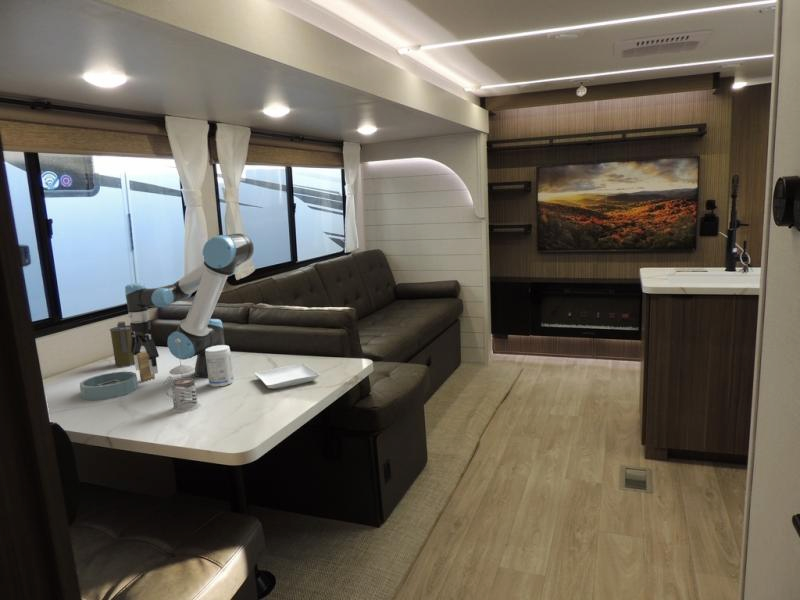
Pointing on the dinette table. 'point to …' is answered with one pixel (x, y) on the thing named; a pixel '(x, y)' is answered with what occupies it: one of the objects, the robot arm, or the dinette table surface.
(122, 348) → the canister
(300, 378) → the salad plate
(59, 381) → the dinette table surface
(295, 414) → the dinette table surface
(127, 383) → the shallow blue tray
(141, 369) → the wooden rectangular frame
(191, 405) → the french press
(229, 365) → the supplement tub
